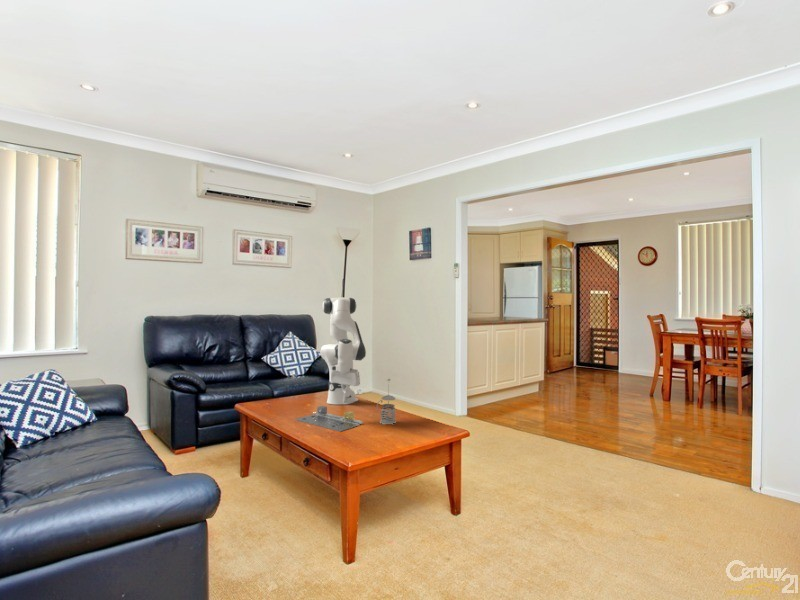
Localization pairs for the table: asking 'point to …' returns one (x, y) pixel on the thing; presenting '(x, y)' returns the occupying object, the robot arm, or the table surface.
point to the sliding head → (348, 415)
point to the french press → (387, 419)
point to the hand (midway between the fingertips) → (345, 391)
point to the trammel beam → (323, 412)
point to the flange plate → (327, 422)
